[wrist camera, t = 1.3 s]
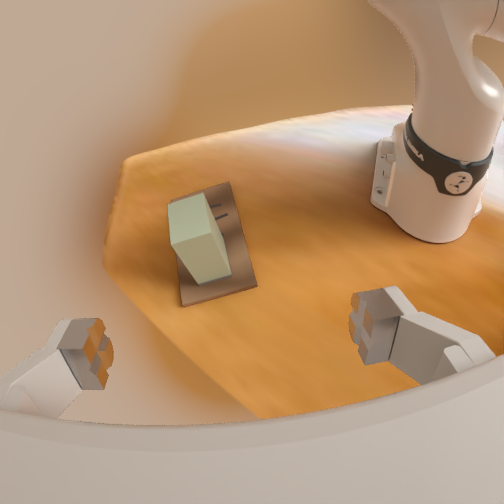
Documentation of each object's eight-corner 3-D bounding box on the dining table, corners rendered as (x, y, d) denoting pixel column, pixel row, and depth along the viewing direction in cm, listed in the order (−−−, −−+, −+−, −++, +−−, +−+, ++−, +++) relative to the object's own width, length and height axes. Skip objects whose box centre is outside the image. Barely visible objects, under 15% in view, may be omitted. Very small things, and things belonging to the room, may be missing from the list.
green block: (193, 249, 45) (167, 204, 37) (224, 240, 45) (203, 192, 37) (199, 286, 42) (170, 244, 34) (232, 276, 42) (210, 232, 34)
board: (172, 203, 52) (170, 200, 51) (230, 184, 52) (228, 181, 51) (184, 307, 42) (182, 304, 41) (257, 286, 41) (256, 283, 41)
